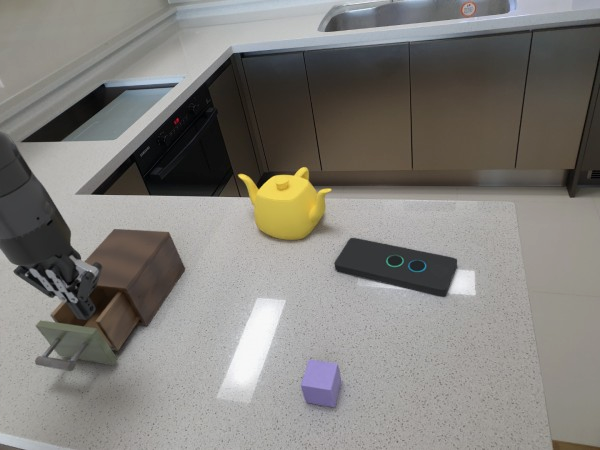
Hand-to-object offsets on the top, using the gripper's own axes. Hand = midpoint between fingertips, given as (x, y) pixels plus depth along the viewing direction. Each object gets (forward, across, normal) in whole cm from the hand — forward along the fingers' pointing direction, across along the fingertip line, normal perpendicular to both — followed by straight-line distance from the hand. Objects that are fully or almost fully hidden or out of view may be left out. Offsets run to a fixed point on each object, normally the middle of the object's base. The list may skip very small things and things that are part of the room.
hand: (87, 314), depth 64 cm
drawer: (+14, -9, +5) cm, 17 cm away
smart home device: (+15, +39, +28) cm, 50 cm away
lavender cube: (+14, +32, +2) cm, 35 cm away
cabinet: (+14, -8, +17) cm, 24 cm away
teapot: (+15, +16, +41) cm, 47 cm away
